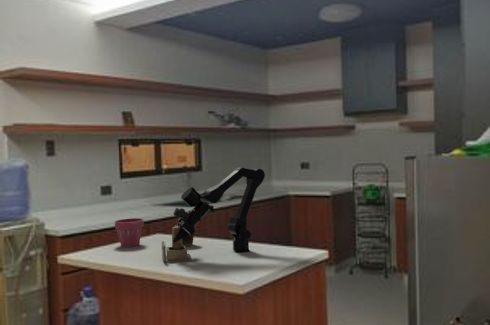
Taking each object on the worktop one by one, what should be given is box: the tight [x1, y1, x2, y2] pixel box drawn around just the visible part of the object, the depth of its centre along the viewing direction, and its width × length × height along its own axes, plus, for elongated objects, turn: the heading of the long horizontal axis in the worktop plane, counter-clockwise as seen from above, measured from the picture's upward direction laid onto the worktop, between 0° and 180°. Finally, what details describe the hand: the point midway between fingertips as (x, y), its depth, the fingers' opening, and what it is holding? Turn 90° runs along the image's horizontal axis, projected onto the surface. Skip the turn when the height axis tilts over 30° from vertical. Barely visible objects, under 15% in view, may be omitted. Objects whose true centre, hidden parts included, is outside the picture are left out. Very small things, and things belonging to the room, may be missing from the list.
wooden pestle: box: [171, 226, 182, 250], centre depth 208 cm, size 4×4×13 cm
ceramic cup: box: [174, 224, 195, 247], centre depth 238 cm, size 13×10×10 cm
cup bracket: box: [161, 240, 193, 264], centre depth 208 cm, size 12×12×7 cm
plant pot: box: [114, 217, 145, 248], centre depth 243 cm, size 14×14×13 cm
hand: (173, 240), depth 208 cm, fingers open, 5 cm apart
